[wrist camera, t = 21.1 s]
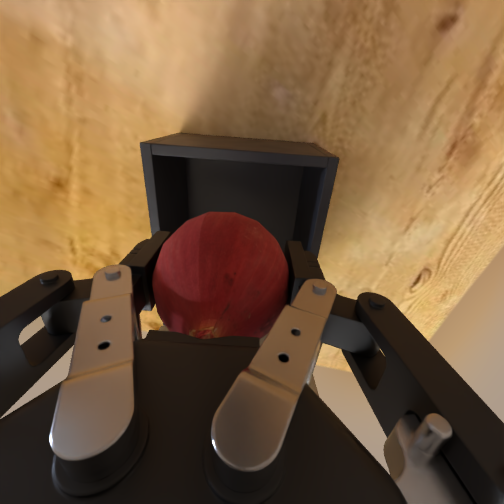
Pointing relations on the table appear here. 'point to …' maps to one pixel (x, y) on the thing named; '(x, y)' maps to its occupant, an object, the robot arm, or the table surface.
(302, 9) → the table surface
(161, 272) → the onion
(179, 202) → the dark open storage bin
